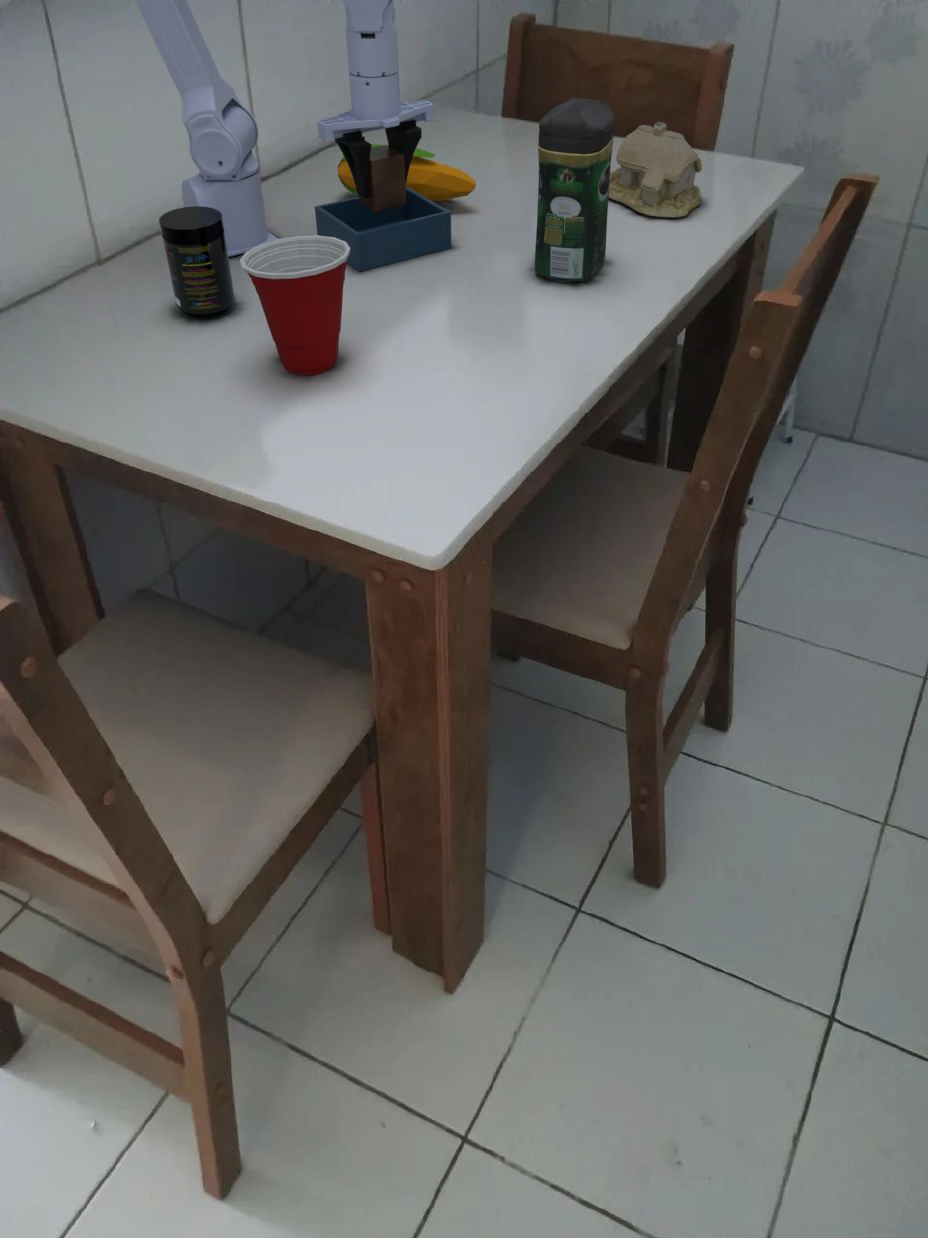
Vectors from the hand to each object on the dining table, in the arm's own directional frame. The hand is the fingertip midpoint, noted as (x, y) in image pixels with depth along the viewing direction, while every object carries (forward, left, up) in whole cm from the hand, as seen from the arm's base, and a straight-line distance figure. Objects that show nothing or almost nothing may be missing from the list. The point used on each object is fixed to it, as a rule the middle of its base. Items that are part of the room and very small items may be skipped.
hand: (381, 191), depth 131 cm
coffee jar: (+15, -19, -7) cm, 25 cm away
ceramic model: (+38, -7, -7) cm, 39 cm away
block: (0, 0, -1) cm, 1 cm away
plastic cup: (-22, -23, -7) cm, 33 cm away
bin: (0, 0, -7) cm, 7 cm away
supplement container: (-26, -5, -7) cm, 27 cm away
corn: (+10, +11, -7) cm, 16 cm away
